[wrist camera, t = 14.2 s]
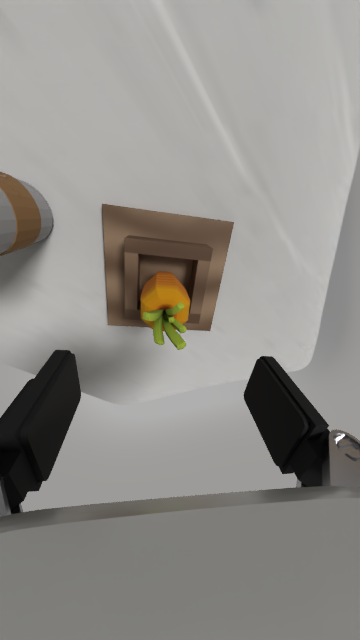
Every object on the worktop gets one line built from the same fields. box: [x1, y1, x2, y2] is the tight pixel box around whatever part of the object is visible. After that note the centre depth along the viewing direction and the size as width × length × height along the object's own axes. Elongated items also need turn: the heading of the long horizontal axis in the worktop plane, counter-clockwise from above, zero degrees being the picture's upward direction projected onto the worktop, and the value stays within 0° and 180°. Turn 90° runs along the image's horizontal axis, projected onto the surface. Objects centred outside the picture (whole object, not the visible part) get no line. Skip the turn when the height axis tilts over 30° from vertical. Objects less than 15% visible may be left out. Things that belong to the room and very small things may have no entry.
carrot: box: [141, 271, 190, 350], centre depth 21 cm, size 5×5×15 cm
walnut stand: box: [102, 204, 234, 331], centre depth 26 cm, size 16×16×4 cm
